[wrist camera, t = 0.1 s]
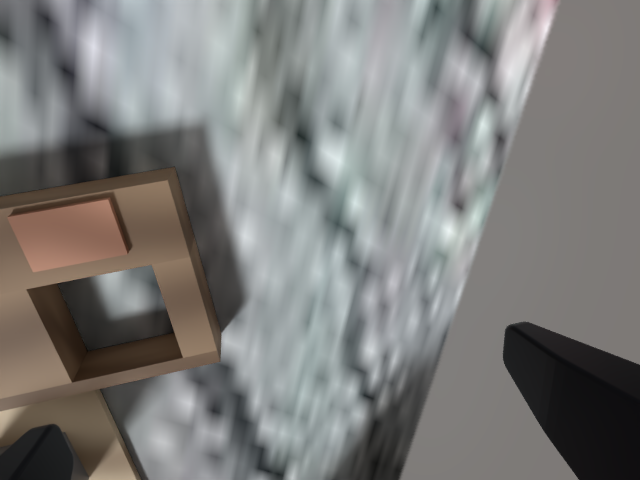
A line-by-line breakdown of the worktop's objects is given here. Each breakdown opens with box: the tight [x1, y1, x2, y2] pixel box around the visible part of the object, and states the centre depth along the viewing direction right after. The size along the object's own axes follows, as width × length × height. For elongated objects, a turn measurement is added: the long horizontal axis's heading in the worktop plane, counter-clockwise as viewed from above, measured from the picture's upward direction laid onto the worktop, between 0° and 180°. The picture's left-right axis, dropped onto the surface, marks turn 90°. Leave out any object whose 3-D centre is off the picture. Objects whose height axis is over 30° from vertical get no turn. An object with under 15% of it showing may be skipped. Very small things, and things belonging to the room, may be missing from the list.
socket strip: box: [0, 167, 221, 411], centre depth 20 cm, size 10×18×3 cm, turn 97°
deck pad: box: [0, 389, 141, 480], centre depth 25 cm, size 9×9×1 cm
